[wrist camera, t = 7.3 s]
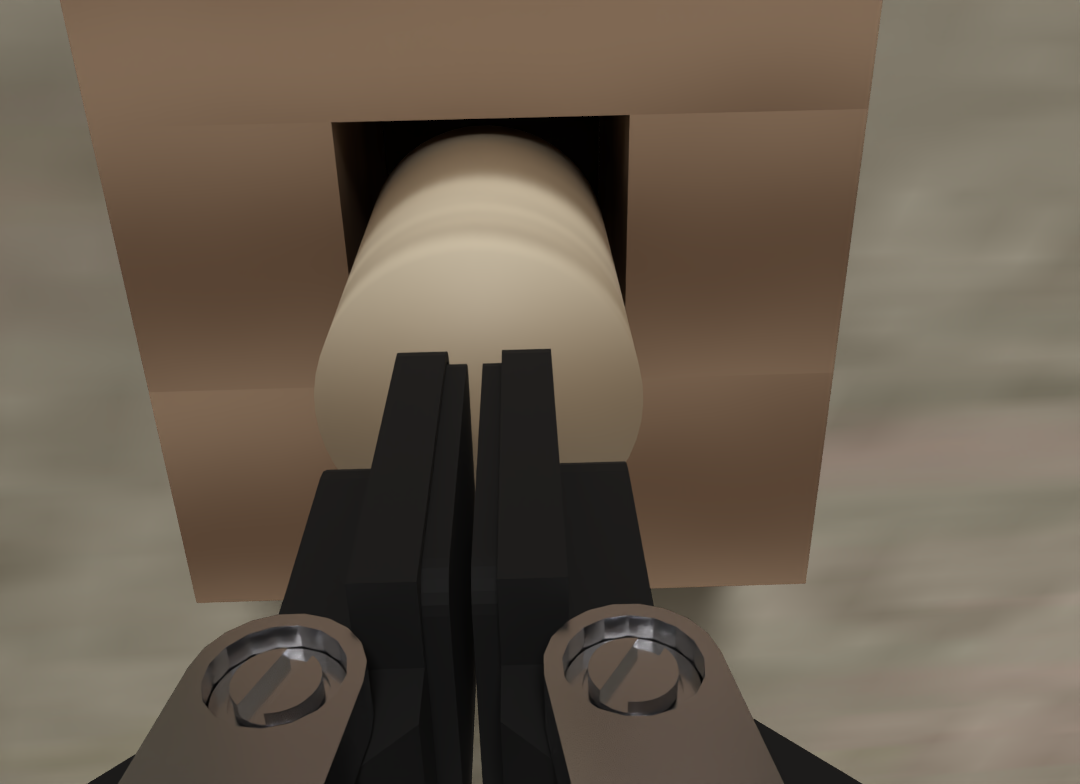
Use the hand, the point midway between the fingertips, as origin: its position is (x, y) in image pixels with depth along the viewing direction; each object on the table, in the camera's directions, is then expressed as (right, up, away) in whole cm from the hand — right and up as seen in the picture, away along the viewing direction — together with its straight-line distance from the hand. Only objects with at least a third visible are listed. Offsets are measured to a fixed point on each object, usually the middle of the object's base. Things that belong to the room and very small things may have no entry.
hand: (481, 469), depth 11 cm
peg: (0, +3, +6) cm, 7 cm away
